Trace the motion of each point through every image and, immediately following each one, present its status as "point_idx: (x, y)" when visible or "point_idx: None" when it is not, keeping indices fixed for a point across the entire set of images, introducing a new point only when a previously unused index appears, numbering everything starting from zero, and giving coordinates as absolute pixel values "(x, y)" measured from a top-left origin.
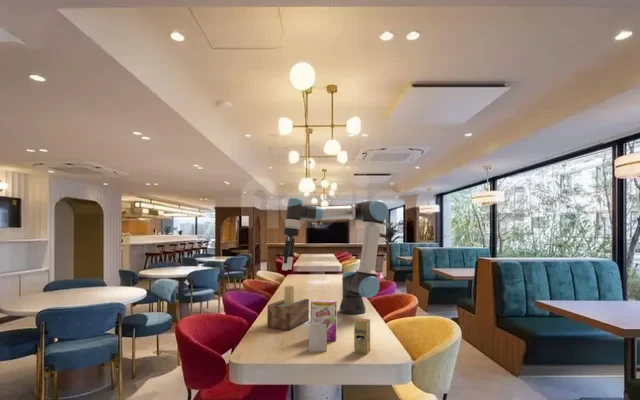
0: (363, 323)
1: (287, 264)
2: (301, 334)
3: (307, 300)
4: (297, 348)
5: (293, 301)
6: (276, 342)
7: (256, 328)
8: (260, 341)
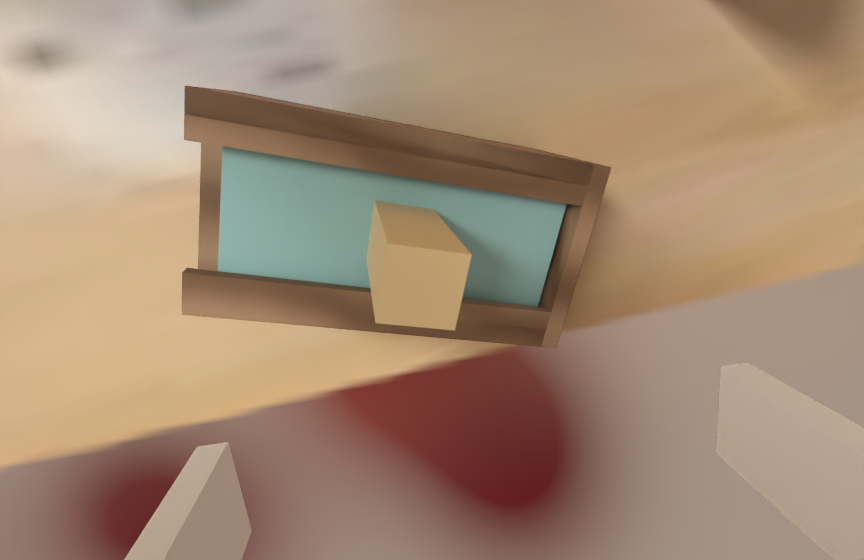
0: None
1: (849, 431)
2: (613, 58)
3: (225, 93)
4: (857, 19)
5: (380, 205)
6: (754, 154)
7: None
8: (733, 232)
